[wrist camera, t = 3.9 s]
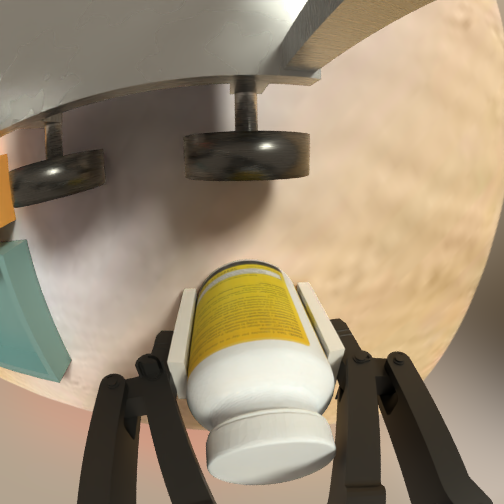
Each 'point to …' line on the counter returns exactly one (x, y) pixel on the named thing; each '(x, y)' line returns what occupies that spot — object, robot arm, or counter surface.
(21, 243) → the tray
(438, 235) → the counter surface
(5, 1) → the trolley
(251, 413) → the pill bottle
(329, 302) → the counter surface
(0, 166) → the block
